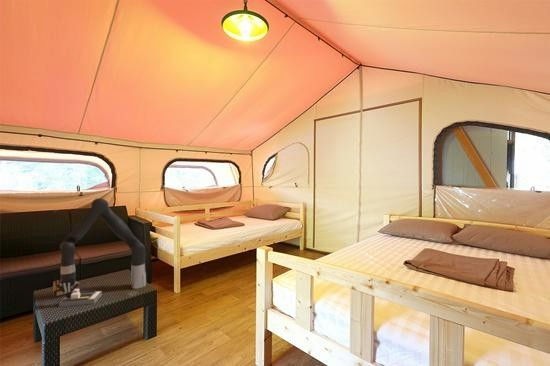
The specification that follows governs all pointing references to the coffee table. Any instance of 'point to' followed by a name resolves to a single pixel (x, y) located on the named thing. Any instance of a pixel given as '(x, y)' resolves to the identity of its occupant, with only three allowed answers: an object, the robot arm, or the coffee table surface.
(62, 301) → the switch panel
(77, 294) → the switch
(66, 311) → the coffee table surface
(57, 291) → the ammunition clip
